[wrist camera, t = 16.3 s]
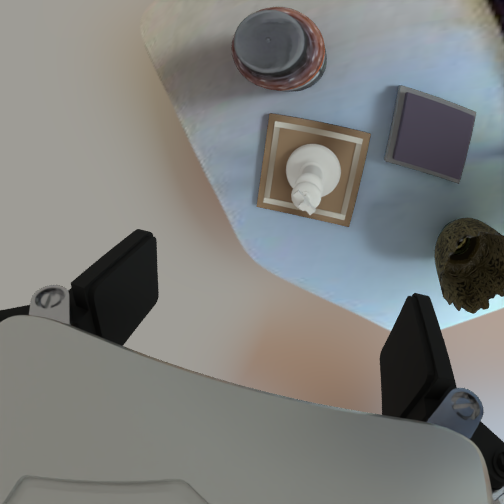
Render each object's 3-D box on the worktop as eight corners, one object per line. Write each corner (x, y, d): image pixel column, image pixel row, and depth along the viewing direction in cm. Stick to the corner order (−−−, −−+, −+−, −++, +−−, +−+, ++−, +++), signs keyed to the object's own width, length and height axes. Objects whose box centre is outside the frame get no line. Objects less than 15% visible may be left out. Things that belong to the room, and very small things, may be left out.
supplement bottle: (251, 40, 24) (203, 12, 15) (315, 23, 22) (302, -19, 13) (270, 99, 27) (233, 101, 17) (335, 83, 25) (336, 74, 15)
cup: (440, 279, 30) (459, 327, 23) (407, 227, 29) (426, 269, 22) (494, 242, 27) (526, 282, 20) (466, 185, 25) (501, 215, 18)
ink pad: (472, 111, 22) (480, 113, 20) (455, 181, 25) (462, 186, 24) (398, 85, 23) (403, 84, 21) (383, 159, 26) (387, 163, 25)
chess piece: (316, 132, 26) (307, 150, 18) (351, 175, 27) (359, 214, 19) (275, 166, 29) (247, 200, 20) (310, 206, 30) (298, 257, 21)
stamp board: (370, 133, 26) (370, 134, 25) (348, 224, 30) (349, 227, 30) (270, 113, 27) (269, 113, 27) (258, 204, 32) (256, 207, 31)
